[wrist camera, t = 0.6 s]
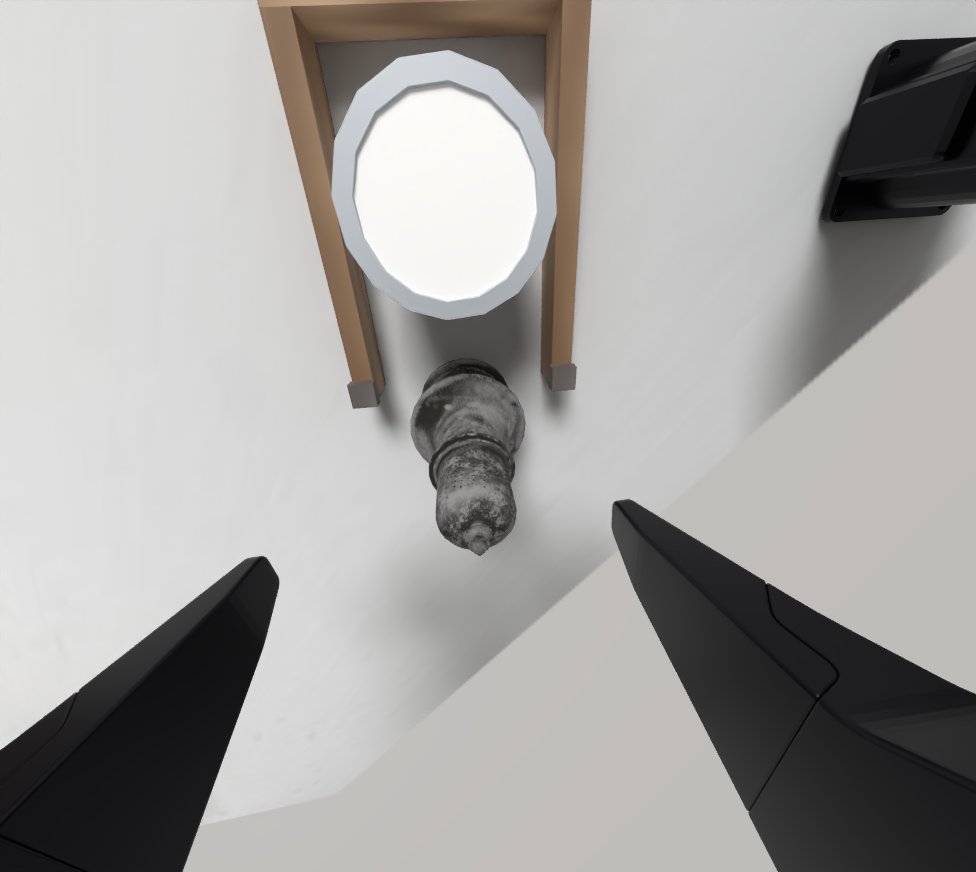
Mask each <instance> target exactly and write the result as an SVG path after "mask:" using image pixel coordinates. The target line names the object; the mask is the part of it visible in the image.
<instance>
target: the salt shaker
mask: <svg viewBox="0 0 976 872" xmlns="http://www.w3.org/2000/svg"><path fill="white" fill-rule="evenodd" d="M524 430H525V419H524V413H523V409H522V407H521V405H520V403H519V401H518V399H517V397H516V396H515V395H514V394H513V393H512V391H511V390H510V389H509V388H508V386H507V384H506V382H505V380H504V378H503V377H502V376H501V375H500V373H499V372H498V371H497V370H496V369H495V368H493V367H491V366H490V365H488V364H487V363H485V362H481V361H478V360H475V359H459V360H454V361H450V362H448V363H446V364H444V365H442V366H440V367H439V368H437V369H436V370H435V371H434V372H433V373H432V374H431V375H430V377H429V378H428V380H427V382H426V383H425V385H424V389H423V392H422V395H421V397H420V399H419V400H418V402H417V403H416V405H415V407H414V410H413V414H412V418H411V436H412V439H413V442H414V444H415V447H416V449H417V450H418V452H419V453H420V454H421V456H422V457H423V459H425V460H426V461H427V462H428V463H429V477H430V480H431V482H432V485H433V486H434V488H435V489H436V490H437V499H436V521H437V525H438V528H439V530H440V532H441V534H442V535H443V536H444V537H445V538H446V539H447V540H449V541H450V542H451V543H453V544H454V545H456V546H458V547H461V548H464V549H469V550H471V551H472V552H474V553H475V554H477V555H479V556H481V555H482V554H483V553H485V551H486V550H488V548H489V547H491V546H494V545H496V544H498V543H499V542H501V541H502V540H503V539H504V538H505V537H506V536H507V535H508V534H509V533H510V532H511V530H512V528H513V526H514V524H515V519H516V505H515V501H514V497H513V493H512V489H511V482H512V479H513V477H514V473H515V463H514V458H513V455H514V454H515V452H516V451H517V450H518V448H519V446H520V444H521V442H522V439H523V437H524Z"/></svg>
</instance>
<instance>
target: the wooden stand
mask: <svg viewBox="0 0 976 872" xmlns="http://www.w3.org/2000/svg"><path fill="white" fill-rule="evenodd" d="M257 1H258V5H259V9H260V13H261V17H262V21H263V25H264V29H265V33H266V37H267V41H268V45H269V50H270V54H271V58H272V62H273V66H274V70H275V74H276V78H277V82H278V86H279V90H280V94H281V98H282V102H283V106H284V110H285V114H286V118H287V122H288V126H289V130H290V134H291V138H292V142H293V146H294V150H295V154H296V158H297V162H298V166H299V170H300V174H301V178H302V182H303V186H304V190H305V194H306V198H307V202H308V206H309V210H310V214H311V218H312V222H313V226H314V230H315V234H316V238H317V242H318V246H319V250H320V254H321V258H322V262H323V266H324V270H325V274H326V278H327V282H328V286H329V290H330V294H331V298H332V302H333V306H334V310H335V314H336V318H337V322H338V326H339V330H340V334H341V338H342V342H343V346H344V350H345V354H346V358H347V362H348V366H349V370H350V374H351V378H352V382H350V383H349V384H348V386H347V387H348V391H349V395H350V399H351V402H352V406H353V409H355V408H367V407H378V404H379V402H380V401H379V398H380V396H381V394H382V391H383V389H384V387H385V380H384V375H383V370H382V365H381V360H380V355H379V351H378V346H377V341H376V336H375V331H374V326H373V321H372V316H371V311H370V306H369V301H368V297H367V292H366V287H365V282H364V277H363V272H362V268H361V267H360V266H359V264H358V263H357V261H356V260H355V258H354V257H353V256H352V254H351V253H350V251H349V250H348V248H347V247H346V245H345V241H344V238H343V234H342V231H341V227H340V224H339V220H338V217H337V214H336V210H335V207H334V203H333V200H332V196H331V192H332V173H333V155H334V140H335V135H334V130H333V125H332V120H331V115H330V110H329V105H328V100H327V96H326V91H325V86H324V81H323V76H322V71H321V66H320V61H319V56H318V51H317V47H316V43H321V42H349V41H377V40H405V39H433V38H460V37H488V36H516V35H544V34H546V56H545V124H544V135H545V137H546V140H547V142H548V145H549V147H550V150H551V153H552V155H553V158H554V160H555V178H556V205H557V214H556V218H555V221H554V224H553V228H552V231H551V234H550V238H549V241H548V245H547V248H546V251H545V255H544V258H543V260H542V325H541V373H542V374H543V376H544V377H545V379H546V380H547V382H548V383H549V388H550V389H551V391H564V390H575V384H576V368H577V367H576V366H575V365H574V364H573V363H571V356H572V339H573V321H574V303H575V285H576V267H577V250H578V232H579V214H580V196H581V178H582V161H583V143H584V125H585V107H586V89H587V72H588V54H589V36H590V18H591V0H257Z"/></svg>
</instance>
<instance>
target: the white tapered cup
mask: <svg viewBox="0 0 976 872" xmlns="http://www.w3.org/2000/svg"><path fill="white" fill-rule="evenodd" d="M331 196H332V200H333V203H334V207H335V210H336V214H337V217H338V220H339V224H340V227H341V231H342V234H343V238H344V241H345V245H346V247H347V248H348V250H349V251H350V253H351V254H352V256H353V257H354V258H355V260H356V261H357V263H358V264H359V266H360V267H361V268H362V270H363V271H364V273H365V274H366V276H367V277H368V278H369V280H370V281H371V283H372V284H373V286H375V287H376V288H378V289H379V290H380V291H382V292H383V293H385V294H386V295H387V296H389V297H390V298H392V299H393V300H394V301H396V302H397V303H399V304H400V305H401V306H403V307H404V308H406V309H407V310H408V311H412V312H416V313H420V314H424V315H428V316H432V317H436V318H440V319H444V320H451V319H457V318H464V317H470V316H476V315H483V314H486V313H487V312H489V311H490V310H492V309H494V308H495V307H497V306H498V305H500V304H502V303H503V302H505V301H506V300H508V299H510V298H511V297H513V296H514V295H516V294H518V293H519V291H520V290H521V288H522V287H523V286H524V284H525V283H526V282H527V280H528V279H529V278H530V276H531V275H532V273H533V272H534V271H535V269H536V268H537V267H538V265H539V264H540V263H541V261H542V260H543V258H544V255H545V251H546V248H547V245H548V241H549V238H550V234H551V231H552V228H553V224H554V221H555V218H556V214H557V205H556V178H555V160H554V158H553V155H552V153H551V150H550V147H549V145H548V142H547V140H546V137H545V135H544V132H543V129H542V127H541V124H540V122H539V119H538V116H537V114H536V111H535V109H534V108H533V107H532V106H531V105H530V104H529V103H528V102H527V101H526V100H525V99H524V97H523V96H522V95H521V94H520V93H519V92H518V91H517V90H516V89H515V88H514V87H513V85H512V84H511V83H510V82H509V81H508V80H507V79H506V78H505V77H504V76H503V75H502V74H501V72H500V71H499V70H498V69H495V68H493V67H490V66H488V65H485V64H483V63H480V62H478V61H475V60H473V59H470V58H468V57H465V56H463V55H460V54H458V53H455V52H453V51H450V50H445V51H439V52H432V53H425V54H419V55H412V56H405V57H398V58H397V59H396V60H395V61H393V62H392V63H391V64H390V65H388V66H387V67H386V68H385V69H383V70H382V71H381V72H380V73H378V74H377V75H376V76H375V77H373V78H372V79H371V80H370V81H369V82H367V83H366V84H365V85H364V86H362V87H361V88H360V89H359V90H357V92H356V95H355V97H354V99H353V101H352V103H351V105H350V107H349V110H348V112H347V114H346V116H345V118H344V120H343V123H342V125H341V127H340V129H339V131H338V133H337V136H336V138H335V140H334V155H333V173H332V192H331Z"/></svg>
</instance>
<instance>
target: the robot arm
mask: <svg viewBox="0 0 976 872" xmlns="http://www.w3.org/2000/svg"><path fill="white" fill-rule="evenodd" d="M889 55H890V61H889V63H888V57H889ZM963 204H976V37H969V38H943V39H917V40H899V41H895V42H893V43H891V44H889V45H886V46H884V47H883V48H882V49H881V50H880V51H879V52H878V53H877V55H876V56H875V58H874V61H873V63H872V66H871V69H870V72H869V75H868V78H867V81H866V84H865V87H864V90H863V93H862V96H861V99H860V102H859V105H858V108H857V111H856V114H855V118H854V121H853V124H852V127H851V130H850V133H849V136H848V139H847V142H846V145H845V148H844V151H843V154H842V157H841V160H840V163H839V166H838V169H837V172H836V175H835V178H834V181H833V184H832V187H831V190H830V193H829V196H828V199H827V202H826V205H825V208H824V211H823V220H824V221H825V222H844V221H859V220H874V219H890V218H905V217H921V216H936V215H941V214H943V213H945V212H946V211H947V210H948V209H949V208H950V207H951V206H952V205H963ZM837 207H838V211H837V212H836V214H835V210H836V208H837ZM612 531H613V535H614V537H615V540H616V543H617V545H618V548H619V551H620V553H621V556H622V558H623V561H624V564H625V566H626V569H627V572H628V575H629V577H630V580H631V582H632V585H633V587H634V590H635V592H636V594H637V596H638V598H639V600H640V602H641V604H642V606H643V608H644V609H645V612H646V614H647V615H648V618H649V619H650V621H651V623H652V625H653V627H654V629H655V631H656V633H657V635H658V637H659V639H660V641H661V643H662V645H663V647H664V649H665V651H666V653H667V655H668V657H669V659H670V661H671V662H672V665H673V667H674V668H675V670H676V672H677V674H678V676H679V678H680V680H681V682H682V684H683V686H684V688H685V690H686V692H687V694H688V696H689V698H690V700H691V702H692V704H693V706H694V707H695V709H696V712H697V713H698V715H699V717H700V719H701V721H702V723H703V725H704V727H705V729H706V731H707V733H708V735H709V737H710V739H711V741H712V743H713V745H714V747H715V749H716V751H717V753H718V755H719V757H720V759H721V761H722V763H723V765H724V766H725V769H726V770H727V772H728V774H729V776H730V778H731V780H732V782H733V784H734V786H735V788H736V790H737V792H738V794H739V796H740V798H741V800H742V802H743V803H744V806H745V808H746V809H747V810H748V811H749V816H750V818H751V820H752V822H753V824H754V826H755V828H756V830H757V832H758V833H759V836H760V837H761V840H762V841H763V844H764V845H765V847H766V849H767V851H768V853H769V855H770V857H771V859H772V861H773V863H774V865H775V867H776V869H777V871H778V872H976V694H975V693H972V692H970V691H967V690H965V689H963V688H961V687H959V686H957V685H955V684H953V683H950V682H949V681H946V680H944V679H942V678H940V677H938V676H937V675H935V674H933V673H931V672H929V671H927V670H925V669H923V668H921V667H920V666H918V665H916V664H914V663H912V662H910V661H908V660H906V659H904V658H902V657H901V656H899V655H897V654H895V653H893V652H891V651H889V650H887V649H885V648H883V647H881V646H880V645H877V644H876V643H874V642H872V641H870V640H868V639H866V638H864V637H863V636H860V635H859V634H857V633H855V632H853V631H851V630H849V629H847V628H846V627H844V626H842V625H840V624H838V623H836V622H835V621H833V620H831V619H829V618H827V617H825V616H824V615H822V614H820V613H818V612H816V611H814V610H813V609H811V608H809V607H808V606H806V605H804V604H802V603H801V602H799V601H797V600H795V599H794V598H792V597H791V596H789V595H787V594H785V593H784V592H782V591H781V590H779V589H777V588H776V587H774V586H772V585H771V584H769V583H767V584H766V583H765V581H764V580H762V579H761V578H759V577H757V576H756V575H754V574H752V573H751V572H749V571H747V570H746V569H744V568H742V567H741V566H739V565H738V564H736V563H734V562H733V561H731V560H729V559H728V558H726V557H724V556H723V555H721V554H720V553H718V552H716V551H714V550H713V549H711V548H710V547H708V546H706V545H705V544H703V543H701V542H700V541H698V540H696V539H695V538H693V537H691V536H690V535H688V534H687V533H685V532H683V531H682V530H680V529H678V528H677V527H675V526H673V525H671V524H670V523H668V522H667V521H665V520H664V519H662V518H660V517H659V516H657V515H655V514H654V513H652V512H650V511H649V510H647V509H645V508H644V507H642V506H641V505H639V504H637V503H636V502H634V501H632V500H630V499H625V500H619V501H615V502H614V503H613V507H612ZM278 589H279V578H278V575H277V574H276V572H275V570H274V569H273V567H272V565H271V564H270V562H269V560H268V559H267V558H266V557H264V556H258V557H251V558H247V559H245V560H244V561H242V562H241V563H240V564H239V565H237V566H236V567H235V568H234V569H232V570H231V571H230V572H228V573H227V574H226V575H225V576H223V577H222V578H221V579H220V580H218V581H217V582H216V583H214V584H213V585H212V586H211V587H209V588H208V589H207V590H206V591H204V592H203V593H202V594H200V595H199V596H198V597H197V598H195V599H194V600H193V601H191V602H190V603H189V604H188V605H186V606H185V607H184V608H183V609H181V610H180V611H179V612H177V613H176V614H175V615H174V616H172V617H171V618H170V619H169V620H167V621H166V622H165V623H163V624H162V625H161V626H160V627H158V628H157V629H156V630H155V631H153V632H152V633H151V634H149V635H148V636H147V637H146V638H144V639H143V640H142V641H140V642H139V643H138V644H137V645H135V646H134V647H133V648H132V649H130V650H129V651H128V652H126V653H125V654H124V655H123V656H121V657H120V658H119V659H118V660H116V661H115V662H114V663H112V664H111V665H110V666H109V667H107V668H106V669H105V670H103V671H102V672H101V673H100V674H98V675H97V676H96V677H95V678H93V679H92V680H91V681H89V682H88V683H87V684H86V685H84V686H83V687H82V688H81V689H80V690H79V692H77V693H74V694H73V695H71V696H70V697H69V698H68V699H66V700H65V701H64V702H63V703H61V704H60V705H59V706H58V707H56V708H55V709H54V710H52V711H51V712H50V713H49V714H47V715H46V716H45V717H43V718H42V719H41V720H39V721H38V722H37V723H36V724H34V725H33V726H32V727H30V728H29V729H28V730H26V731H25V732H24V733H23V734H21V735H20V736H19V737H17V738H16V739H15V740H13V741H12V742H11V743H9V744H8V745H7V746H5V747H4V748H2V749H1V750H0V872H183V869H184V866H185V864H186V861H187V858H188V855H189V853H190V850H191V847H192V844H193V841H194V839H195V836H196V833H197V830H198V827H199V825H200V822H201V819H202V817H203V814H204V811H205V808H206V805H207V803H208V800H209V797H210V794H211V792H212V789H213V786H214V783H215V781H216V778H217V775H218V772H219V769H220V767H221V764H222V761H223V758H224V756H225V753H226V750H227V747H228V744H229V742H230V739H231V736H232V733H233V731H234V728H235V725H236V722H237V720H238V717H239V714H240V711H241V708H242V706H243V703H244V700H245V697H246V695H247V692H248V689H249V686H250V684H251V681H252V678H253V675H254V672H255V670H256V667H257V664H258V661H259V659H260V656H261V653H262V650H263V647H264V643H265V640H266V636H267V632H268V628H269V624H270V620H271V617H272V613H273V609H274V605H275V601H276V597H277V593H278Z"/></svg>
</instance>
